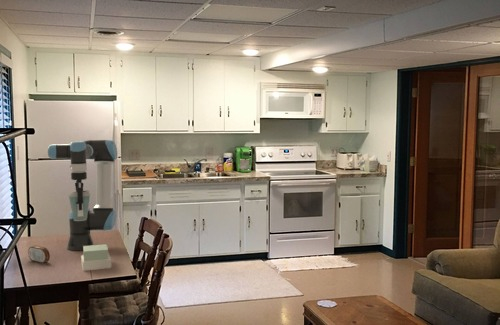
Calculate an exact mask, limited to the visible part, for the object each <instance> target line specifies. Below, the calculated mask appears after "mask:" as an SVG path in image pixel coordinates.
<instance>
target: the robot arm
mask: <svg viewBox="0 0 500 325" xmlns="http://www.w3.org/2000/svg"><path fill="white" fill-rule="evenodd" d="M47 156H48V158H49V159H52V160H65V159H66V160H67V159H69V160H70V165H69V168H70V171H71V173H70V174H71V175H70V176H71V180H72V181H75V182H74V186H75V187H74V188H75V192H77V199H78V202H76V204H77V209H78V217H80V216H83V191H84V182H83V181H84V180H85V181H86V180H87V178H88V177H87V176H88V175H87V160H93V163H94V164H95V165H96V179H95V180H96V181H95V182H96V183H95V188H96V189H95V206H93V208H92V210H90V208H89V207H88V215H87V220H84V221H74V219H73V216H72V210H70V212H69V219H68V220H69V224H68V225H69V237H68V241H67V244H66V248H67V250H69V251H83V246H91V245H94V241H93V238H92V235H91V231H111V230H113V229H114V227H115V224H116V221H117V212H116V210H114V207H113V206H112V205H111V201H112V166H113V165H114V164H115V160H117V159H118V148H117V144H116V143H115V141H113V140H111V139H103V140H102V139H100V140H99V139H98V140H97V139H96V140H94V139H89V140H87V139H86V140H83V141H71V142H70V143H67V144H49V145H48V147H47Z"/></svg>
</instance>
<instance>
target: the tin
mask: <svg viewBox="0 0 500 325" xmlns="http://www.w3.org/2000/svg"><path fill="white" fill-rule="evenodd" d="M27 252H28V258H29V259H30V260H31V261H32V262H35V263H36V262H37V263H40V264H43V263H48V262H49V260H50V258H51V254H50V251H49V249H48V248H47V247H45V246H40V245H36V244H35V245H31V246H30V247H28V250H27Z"/></svg>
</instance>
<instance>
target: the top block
mask: <svg viewBox="0 0 500 325" xmlns="http://www.w3.org/2000/svg"><path fill="white" fill-rule="evenodd" d="M82 251H83V252H82V253H83V254H82V255H84V261H92V260H104V259H108V254H109V248H108V245H107V244H95V245H91V246H83V250H82Z"/></svg>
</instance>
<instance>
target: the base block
mask: <svg viewBox="0 0 500 325" xmlns="http://www.w3.org/2000/svg"><path fill="white" fill-rule="evenodd" d="M80 259H81V260H80V264H81V267H82V268H81V269H82V271H83V272H84V271H94V270H95V271H96V270H105V268H106V269H112V258H111V255H110V253H108V259H104V260H92V261H84V255H83V254H82V255H81V254H80Z"/></svg>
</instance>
